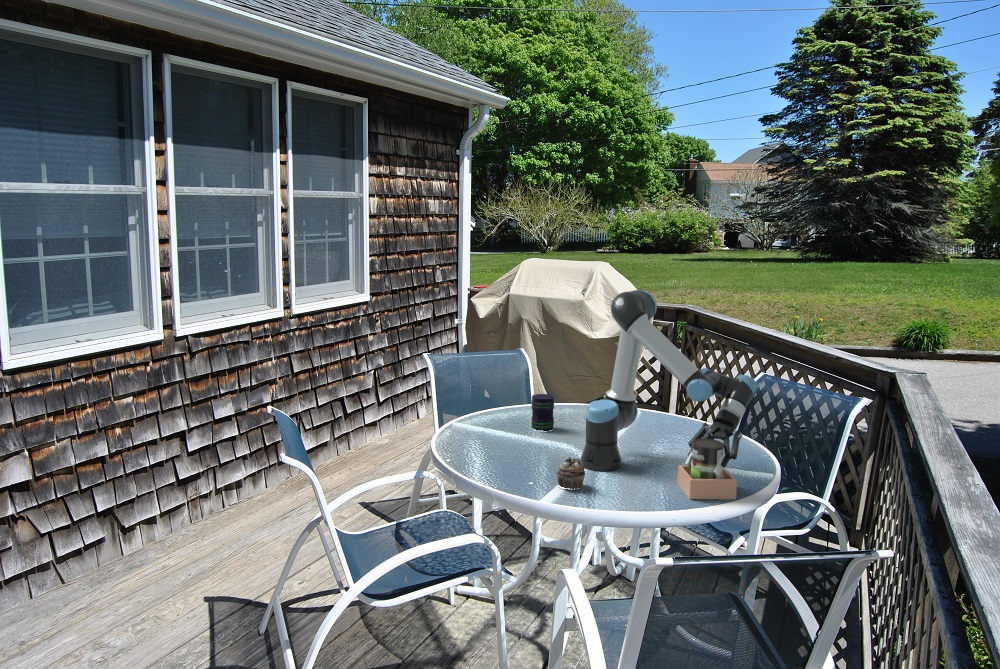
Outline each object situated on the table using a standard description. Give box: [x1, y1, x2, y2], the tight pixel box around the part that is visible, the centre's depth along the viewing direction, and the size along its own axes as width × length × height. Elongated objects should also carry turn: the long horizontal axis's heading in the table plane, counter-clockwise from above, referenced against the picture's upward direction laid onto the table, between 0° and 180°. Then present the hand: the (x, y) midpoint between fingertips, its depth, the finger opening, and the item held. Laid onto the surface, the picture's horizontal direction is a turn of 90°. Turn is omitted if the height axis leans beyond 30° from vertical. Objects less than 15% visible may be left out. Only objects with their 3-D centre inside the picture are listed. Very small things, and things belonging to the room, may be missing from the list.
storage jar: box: [530, 393, 555, 431], centre depth 310 cm, size 10×10×15 cm
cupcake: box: [556, 457, 586, 489], centre depth 239 cm, size 10×10×10 cm
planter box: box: [676, 464, 738, 501], centre depth 235 cm, size 15×15×6 cm
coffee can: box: [691, 439, 724, 479], centre depth 234 cm, size 10×10×14 cm
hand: (701, 470), depth 232 cm, fingers closed on coffee can, 10 cm apart
